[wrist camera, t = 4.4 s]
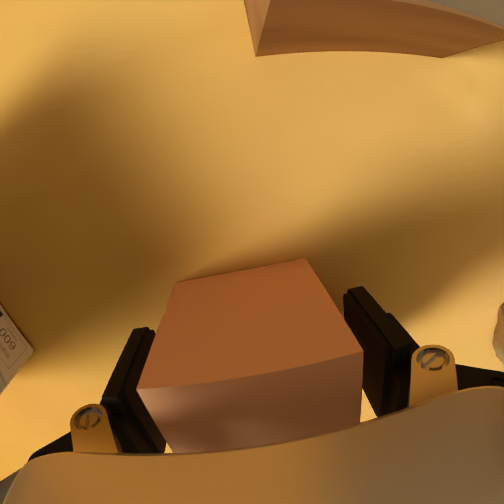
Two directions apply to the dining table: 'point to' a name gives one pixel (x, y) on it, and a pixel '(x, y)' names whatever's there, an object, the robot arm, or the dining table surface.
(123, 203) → the dining table surface
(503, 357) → the chocolate bunny
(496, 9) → the tower top
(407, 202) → the dining table surface
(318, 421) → the block
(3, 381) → the light bulb box
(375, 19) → the tower base
